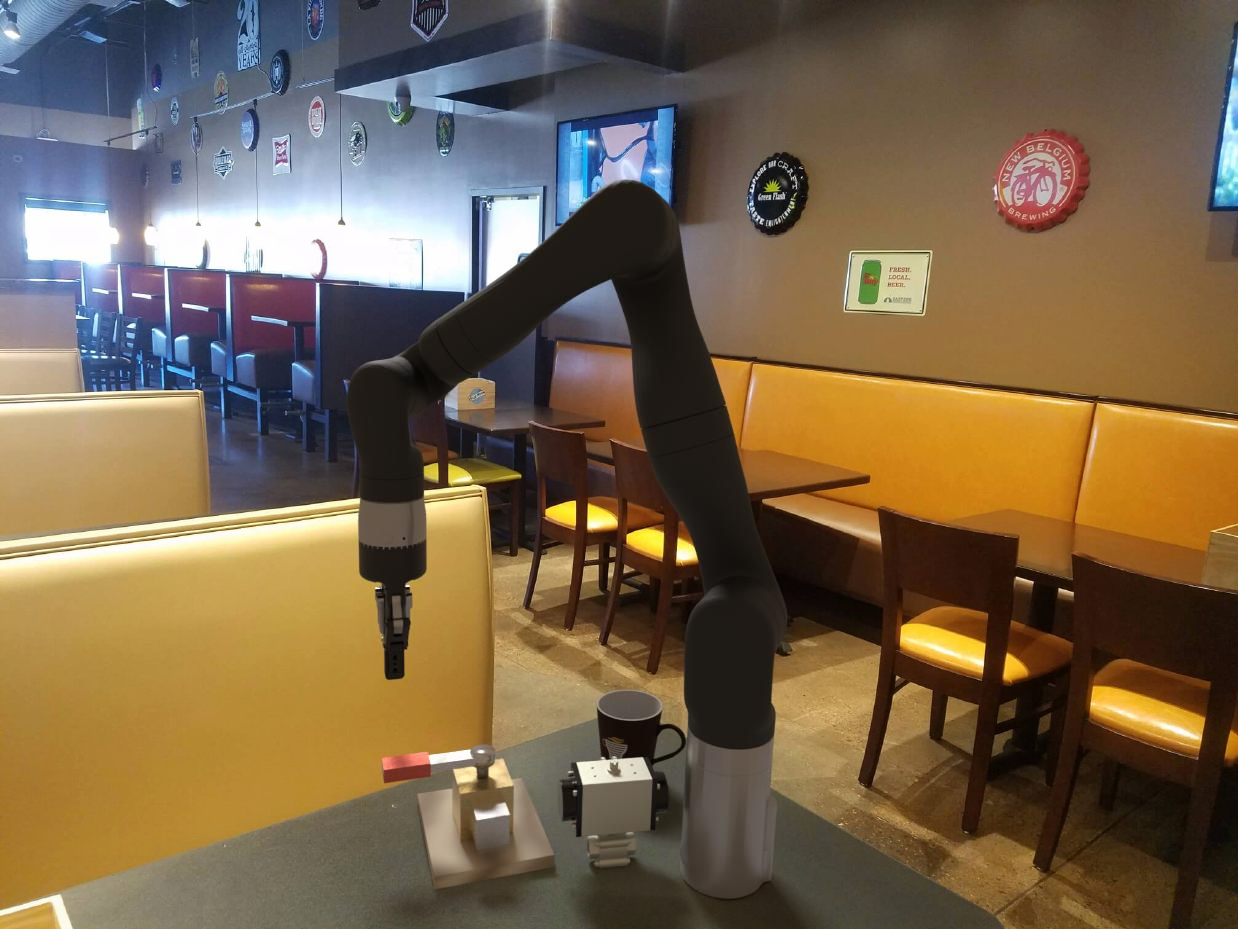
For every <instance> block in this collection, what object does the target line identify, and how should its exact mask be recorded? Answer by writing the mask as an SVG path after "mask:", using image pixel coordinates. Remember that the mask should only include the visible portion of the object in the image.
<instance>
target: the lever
mask: <svg viewBox="0 0 1238 929" xmlns="http://www.w3.org/2000/svg"><path fill="white" fill-rule="evenodd" d="M495 760H496V749H495V747H494V746H492V745H490V744H477V745H475V746H472V748H470V749H466V750H465V749H464V750H457V751H451V752H444V753H443V752H442V753H437V754H435V753H434V754H430V755H429V752H428V751H424V752H416V753H408V754H401V755H395V756H386V757H382V758H381V771H382V773H381V774H382V778H383V779H382V780H383V784H389V783H396V782H405V781H410V780H418V779H424V778H431V776H432V773H438V772H446V771H450V770H453V769H460V768H466V767H475V768H479V769H484V768H488V767H491V766H492V765H494V763H495Z"/></svg>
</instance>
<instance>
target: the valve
mask: <svg viewBox="0 0 1238 929" xmlns="http://www.w3.org/2000/svg"><path fill="white" fill-rule="evenodd" d="M451 774H452V775H451V777H452V779H451V780H452V781H451V782H452V784H451V785H452V786H451V787H452V788H451V789H452V813H453V817H454V820H455V824H456V828H457V832H458V835H459V839H460V843H461V842H467V841H473V840H474V843H475V846H476V850H477V853H478V856H479V858H480V857H486V856H492V855H497V854H503V853H506V845H508V844H509V840H510V834H513V814H514V785H513V782H512V780H511V779H512V777H511V775H510V773H509V770H508V768H507V765H506V763H505V760H504V758H499V759H497V758H495V763H494V765H492V766H491V767H488V768H484V769H479V768H475V767H466V768H460V769H453V770H452V771H451Z"/></svg>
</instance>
